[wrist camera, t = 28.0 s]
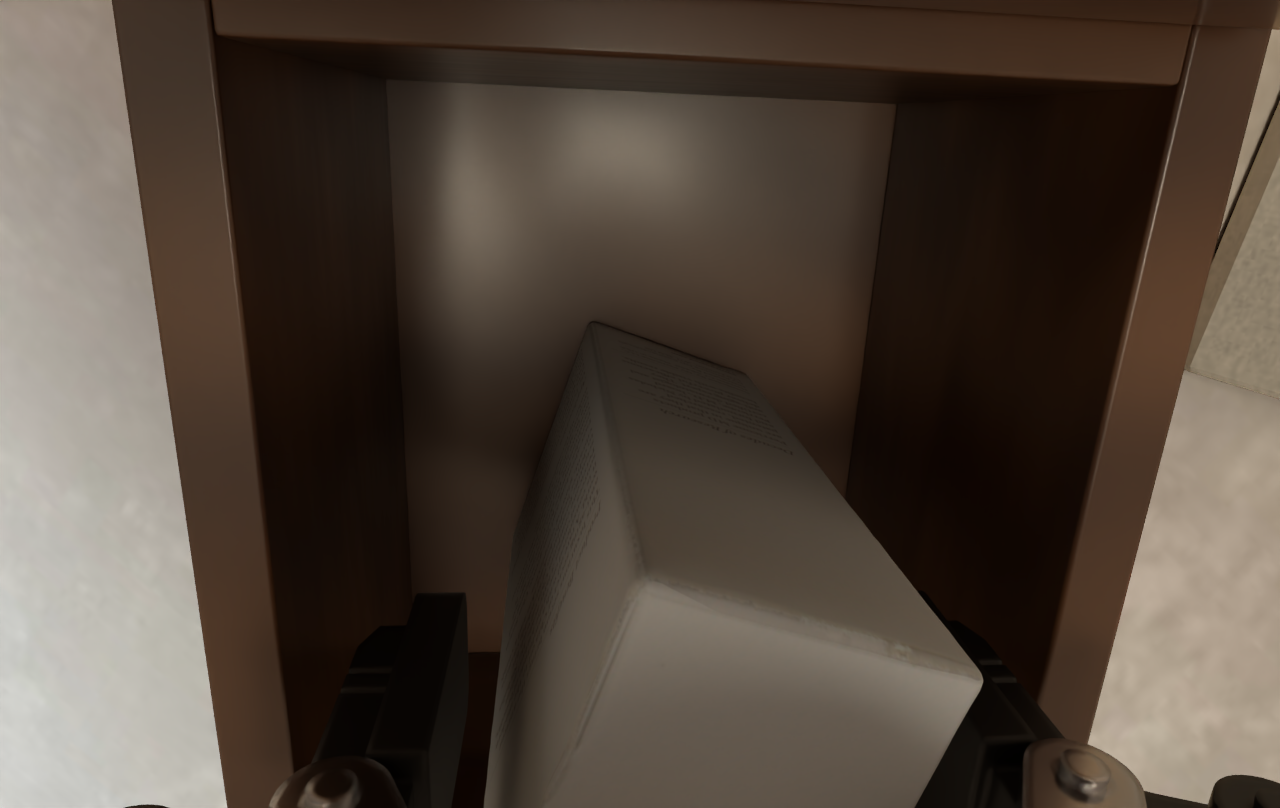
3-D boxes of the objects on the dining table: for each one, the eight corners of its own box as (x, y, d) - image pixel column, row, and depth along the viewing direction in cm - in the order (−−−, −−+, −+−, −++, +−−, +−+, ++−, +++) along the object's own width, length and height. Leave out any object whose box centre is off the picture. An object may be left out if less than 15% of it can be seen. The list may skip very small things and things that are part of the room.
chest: (844, 655, 24) (1024, 997, 15) (385, 662, 23) (258, 1040, 13) (928, 61, 19) (1283, -2, 10) (345, 30, 18) (97, -77, 8)
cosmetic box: (668, 579, 22) (780, 1076, 10) (510, 535, 21) (445, 1020, 10) (757, 367, 20) (1005, 682, 9) (589, 310, 19) (624, 575, 8)
